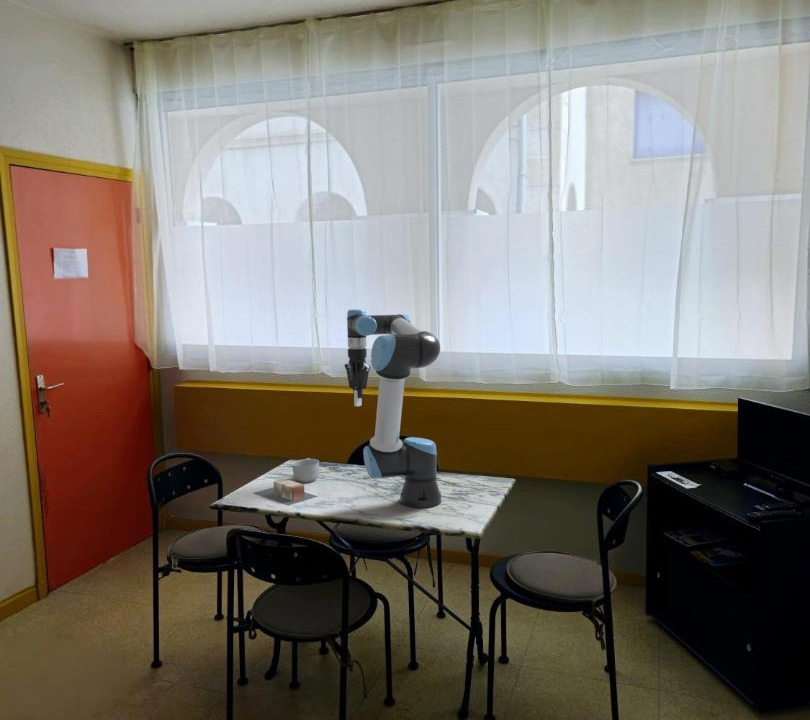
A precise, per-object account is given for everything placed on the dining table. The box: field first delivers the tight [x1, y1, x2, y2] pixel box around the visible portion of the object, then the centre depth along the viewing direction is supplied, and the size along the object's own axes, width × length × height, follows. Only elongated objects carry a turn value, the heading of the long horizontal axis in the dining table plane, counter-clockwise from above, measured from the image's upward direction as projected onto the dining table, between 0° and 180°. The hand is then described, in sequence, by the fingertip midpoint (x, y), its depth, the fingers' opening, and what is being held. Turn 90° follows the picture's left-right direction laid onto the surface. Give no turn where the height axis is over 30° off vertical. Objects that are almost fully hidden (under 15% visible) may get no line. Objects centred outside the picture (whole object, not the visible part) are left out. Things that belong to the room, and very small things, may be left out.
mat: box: [252, 486, 319, 506], centre depth 258 cm, size 22×14×1 cm, turn 47°
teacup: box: [291, 457, 320, 484], centre depth 278 cm, size 14×11×8 cm
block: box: [273, 478, 305, 501], centre depth 256 cm, size 5×5×12 cm
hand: (358, 405), depth 276 cm, fingers closed
